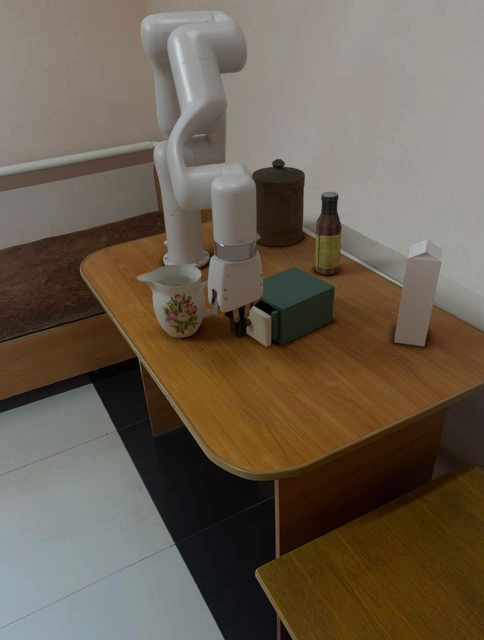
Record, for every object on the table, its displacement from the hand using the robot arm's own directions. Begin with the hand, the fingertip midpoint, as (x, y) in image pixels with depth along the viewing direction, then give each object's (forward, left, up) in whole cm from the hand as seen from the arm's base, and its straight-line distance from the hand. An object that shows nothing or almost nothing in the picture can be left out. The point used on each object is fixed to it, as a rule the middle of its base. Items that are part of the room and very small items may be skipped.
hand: (238, 334), depth 105 cm
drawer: (-4, +12, -4) cm, 13 cm away
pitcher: (-16, -3, -5) cm, 17 cm away
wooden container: (-41, +45, -5) cm, 61 cm away
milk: (+17, +31, -5) cm, 36 cm away
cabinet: (-4, +16, -5) cm, 18 cm away
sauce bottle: (-16, +40, -5) cm, 44 cm away
